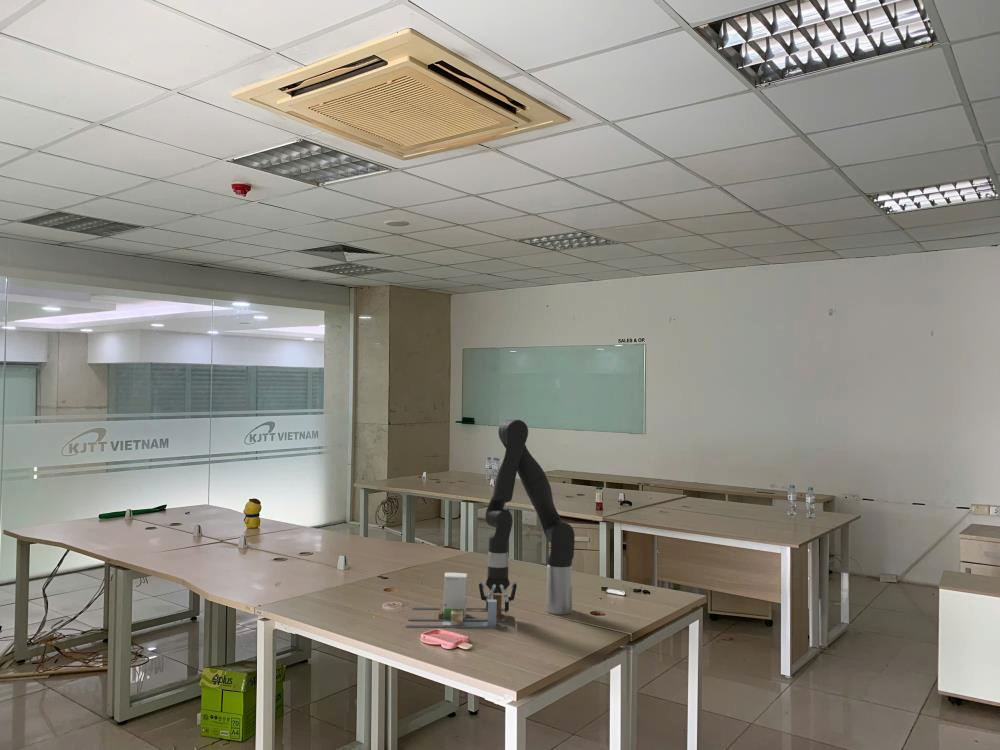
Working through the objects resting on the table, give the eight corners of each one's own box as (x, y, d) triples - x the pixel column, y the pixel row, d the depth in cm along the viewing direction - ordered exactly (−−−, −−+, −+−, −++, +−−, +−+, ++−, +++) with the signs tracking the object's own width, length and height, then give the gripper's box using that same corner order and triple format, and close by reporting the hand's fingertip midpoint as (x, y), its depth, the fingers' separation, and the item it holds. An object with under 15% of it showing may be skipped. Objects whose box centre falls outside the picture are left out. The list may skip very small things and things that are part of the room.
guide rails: (505, 612, 257) (505, 608, 257) (506, 631, 236) (506, 626, 236) (412, 611, 257) (412, 606, 257) (405, 630, 235) (405, 625, 235)
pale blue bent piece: (496, 624, 242) (496, 598, 242) (496, 629, 237) (496, 602, 237) (442, 624, 242) (443, 598, 242) (441, 629, 237) (442, 602, 237)
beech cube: (462, 622, 241) (463, 610, 241) (462, 625, 237) (462, 613, 237) (451, 622, 241) (451, 610, 241) (450, 625, 237) (450, 613, 237)
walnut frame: (500, 613, 256) (501, 591, 256) (501, 623, 244) (501, 600, 244) (440, 612, 255) (441, 590, 256) (438, 622, 244) (438, 599, 244)
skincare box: (442, 621, 245) (443, 576, 246) (443, 615, 252) (444, 572, 252) (466, 621, 245) (466, 576, 246) (466, 615, 252) (467, 572, 253)
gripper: (517, 562, 254) (516, 609, 254) (478, 561, 254) (477, 608, 253) (518, 566, 247) (517, 615, 246) (477, 566, 247) (477, 614, 246)
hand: (497, 611), depth 250 cm, fingers open, 5 cm apart
